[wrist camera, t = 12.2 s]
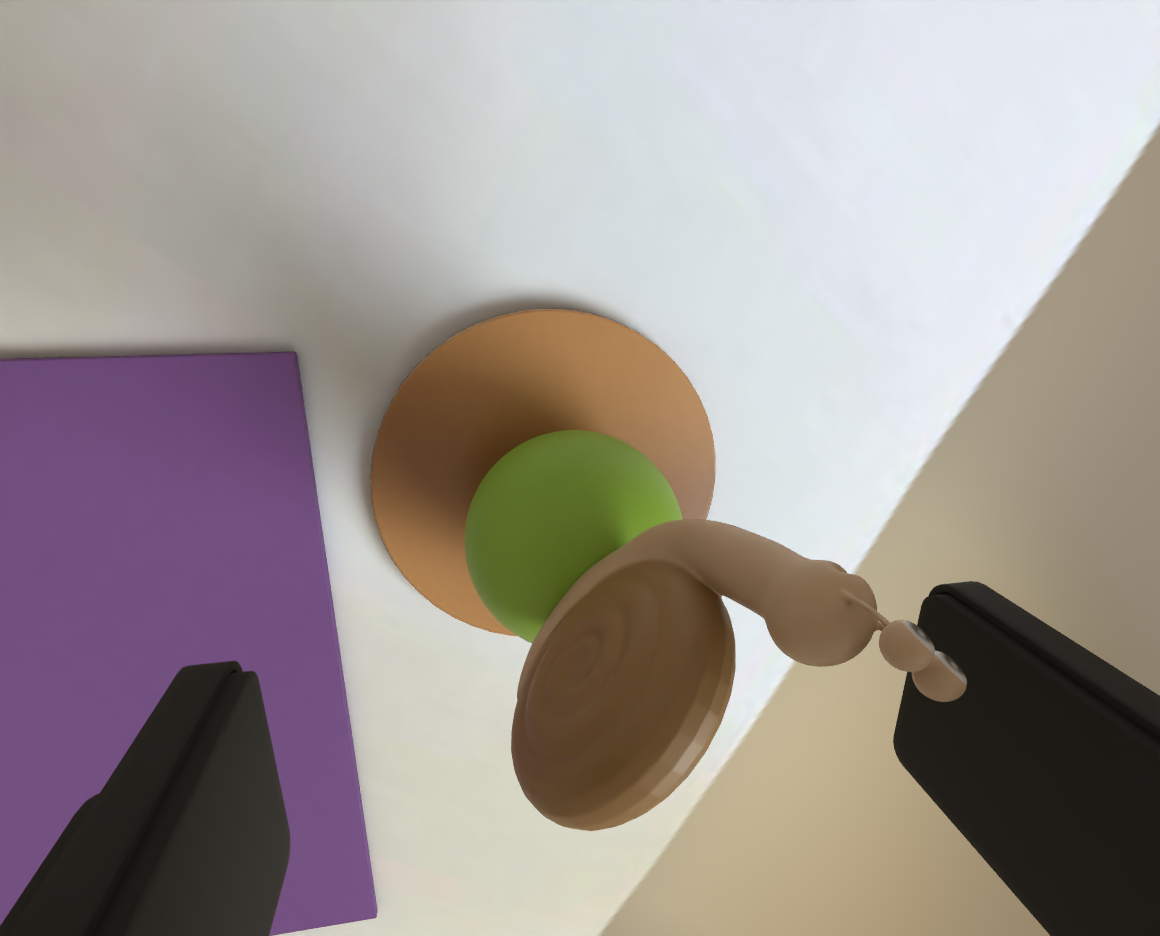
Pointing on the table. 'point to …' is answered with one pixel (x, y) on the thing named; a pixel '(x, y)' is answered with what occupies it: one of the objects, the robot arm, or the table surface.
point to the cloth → (168, 596)
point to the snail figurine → (644, 621)
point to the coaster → (522, 431)
